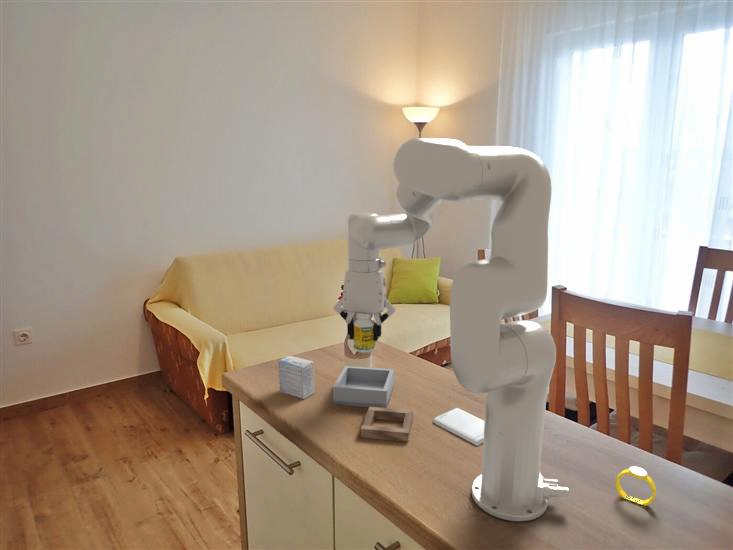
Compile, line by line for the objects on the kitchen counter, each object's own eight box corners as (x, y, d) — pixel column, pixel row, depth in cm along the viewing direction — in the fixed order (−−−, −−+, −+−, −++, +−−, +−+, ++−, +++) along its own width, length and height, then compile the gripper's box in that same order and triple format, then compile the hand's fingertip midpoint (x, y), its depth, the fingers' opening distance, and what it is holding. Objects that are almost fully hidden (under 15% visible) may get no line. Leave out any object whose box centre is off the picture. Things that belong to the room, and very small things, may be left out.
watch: (653, 505, 87) (660, 475, 86) (650, 513, 85) (657, 483, 84) (616, 489, 91) (622, 460, 89) (612, 497, 89) (618, 467, 87)
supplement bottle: (367, 343, 129) (367, 307, 127) (379, 350, 125) (379, 312, 123) (349, 348, 126) (349, 310, 124) (361, 354, 122) (361, 316, 120)
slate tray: (394, 385, 133) (394, 369, 132) (386, 408, 121) (386, 391, 120) (345, 381, 135) (345, 365, 134) (333, 404, 123) (332, 386, 122)
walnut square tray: (412, 418, 116) (413, 410, 116) (408, 441, 106) (408, 432, 106) (369, 414, 118) (369, 406, 117) (361, 437, 108) (361, 428, 108)
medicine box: (314, 393, 129) (314, 361, 127) (303, 400, 125) (302, 367, 123) (290, 386, 133) (289, 354, 131) (279, 392, 129) (277, 360, 127)
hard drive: (433, 418, 114) (477, 440, 105) (457, 407, 119) (502, 427, 110) (432, 424, 115) (477, 448, 105) (457, 413, 120) (501, 434, 110)
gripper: (402, 263, 123) (401, 335, 127) (332, 261, 126) (334, 331, 130) (398, 270, 116) (397, 346, 120) (324, 267, 119) (326, 341, 123)
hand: (364, 337), depth 125 cm, fingers closed on supplement bottle, 5 cm apart
